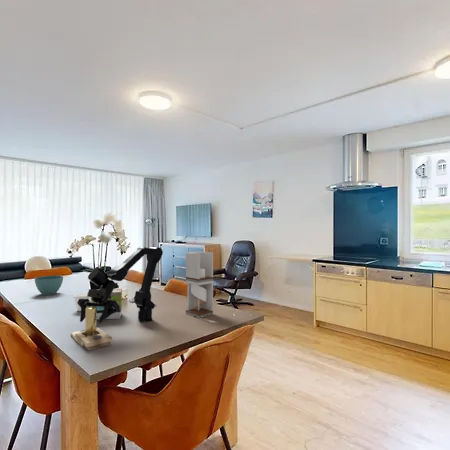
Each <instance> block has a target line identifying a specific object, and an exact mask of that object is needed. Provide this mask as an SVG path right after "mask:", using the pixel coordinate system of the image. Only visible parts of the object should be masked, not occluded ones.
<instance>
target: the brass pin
mask: <svg viewBox="0 0 450 450" xmlns="http://www.w3.org/2000/svg"><path fill="white" fill-rule="evenodd" d="M84 320H85V324H84V326H85V327H84V328H85V329H84V330H85V337H87V336H92V335H96V328H97V307H87V308H86V317H85V319H84Z"/></svg>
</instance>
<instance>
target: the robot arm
mask: <svg viewBox="0 0 450 450" xmlns="http://www.w3.org/2000/svg"><path fill="white" fill-rule="evenodd" d="M163 253H164V251H163V249H162V248H161V247H159V246H150V247H145V246H139V247H137V248H136V249H135V251H134V252H133V253H132V254H131V255H129V256H128V257H127V258H126V259H125V260H124V261H123V262H122V263H119V264H118V265H116V266H114V267H112V268H110V270H109V271H106V272H105V271H104V270H103V269H102V268H101V267H96V269H94V270H93V271H91V272H90V273H89V274H88V275H87V276H88V277H87V279H88V280H89V281H91V282H92V284H94V285H95V286H97V287H100V288H99V289H100V290H96V289H95V288H94V289H93V288H91V289H90V288H89V289H88V292H87V293H88V295H87V297H91V300H93V302H90V301H89V300H88V299H85V298H81V299H79V300H78V302H77V304H78V305H79V306H80V307H81V312H80V318H79V322H80V323H82V322H83V321H84V320H85V318H86V308H87V307H92V306H93V307H104V311H103V313H102V315H101V317H100V319H98V324H102V323H103V322H104V321H105V320H107V319H106V318H107V317H109V316H110V315H112V314H113V313H115V312H118V311H119V309H120V306H119V304H118V303H117V302H116V300H109V299H111V294H112V291H113V289H120V286H119V283H118V282H121V281H123V280H124V279H125V278H126V276H128V274H129V271H130V270H131V269H132V268H133V267H134V266H135V264H136V263H138V262H139V261H140V260H141V259H142V258H143V257H144V256H145V255H146V260H147V263H146V267H145V271H144V274H143V279H142V282H141V286H140V289H139V290H136V291H135V293H134V297H133V298H134V302H135V306H136V307H137V309H138V311H137V319H138V321H139V323H142V322H143V323H144V322H151V321H153V309H154V308H155V307H156V306H155V304H156V303H154V302H153V301H152V293H151V288H152V283H153V280H154V277H155V271H156V268H157V265H158V264H159V262H160V261H161V260H162V257H163ZM116 281H117V282H116Z"/></svg>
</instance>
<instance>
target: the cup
mask: <svg viewBox="0 0 450 450" xmlns="http://www.w3.org/2000/svg"><path fill="white" fill-rule="evenodd" d="M87 295H88V292H82V293H81V292H80V293H76V294H74V295H73V299H74V302H75V307H76V311H77V312H80V313H81V307H80V306H79V305H78V304H77V302H78V300H79V299H81V298H85V299H88V300H89V301H90V302H91V297H87Z"/></svg>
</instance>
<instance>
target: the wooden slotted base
mask: <svg viewBox="0 0 450 450" xmlns="http://www.w3.org/2000/svg"><path fill="white" fill-rule="evenodd" d="M70 337H71V338H72V339H74V340H75V341H76V343H78V344H79V345H80V346H81V347H84V348H85V349H86V350H87V351H92V350H96V349H101V348H104V347H108V346H111V345H112V341H113V337H112V336H111V335H110V334H108V333H107V332H106V331H104V330H102V329H101V328H99V327H96V335H92V336H87V337H85V329H82V330H78V331H74V332H70Z"/></svg>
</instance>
